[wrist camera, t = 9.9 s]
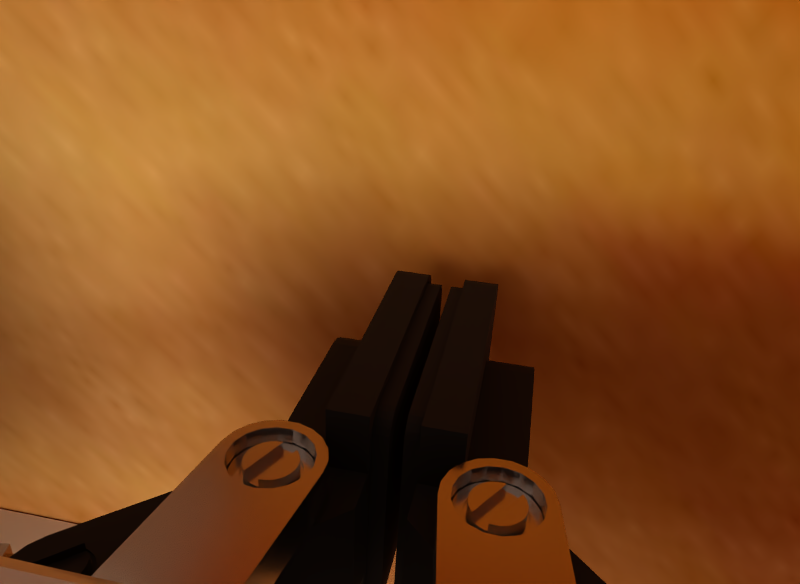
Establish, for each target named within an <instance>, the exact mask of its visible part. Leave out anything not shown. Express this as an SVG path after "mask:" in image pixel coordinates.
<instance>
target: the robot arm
mask: <svg viewBox="0 0 800 584" xmlns="http://www.w3.org/2000/svg"><path fill="white" fill-rule="evenodd" d="M497 291H498V284H491V283H484V282H477V281H470V280H465V282H464V286H463V288H457V287H451V289H450V292H449V295H448V298H447V301H446V304H445V307H444V310H443V313H442V316H441V319H440V308H441V297H442V285H436V284H431V276H430V275H426V274H418V273H411V272H404V271H397V273H396V275H395V276H394V278H393V280H392V282H391V284H390V286H389V288H388V290H387V292H386V294H385V296H384V298H383V300H382V301H381V303H380V305H379V307H378V309H377V311H376V313H375V315H374V317H373V319H372V321H371V323H370V325H369V326H368V328H367V330H366V332H365V334H364V336H363V338H362V340H361V341H360V340H354V339H347V338H341V337H340V338H337V339H336V340H335V342H334V343H333V345H332V346H331V348H330V350H329V351H328V353H327V355H326V357H325V358H324V360H323V362H322V363H321V365H320V367H319V368H318V370H317V372H316V374H315V375H314V377H313V379H312V380H311V382H310V384H309V385H308V387H307V389H306V391H305V392H304V394H303V396H302V397H301V399H300V401H299V402H298V404H297V406H296V408H295V409H294V411H293V413H292V414H291V416H290V418H289V420H288V421H284V420H274V421H262V422H258V423H253V424H249V425H246V426H244V427H242V428H240V429H238V430H235V431H233V432H232V433H231V434H229V435H228V436H227V437H226V438H224V439H223V440H222V441H221V442H220V443H219V444H218V445H217V446H216V447H215V448H214V449H213V450H212V451H211V452H210V453H209V454H208V455H207V456H206V457H205V458H204V459H203V460H202V461H201V462H200V464H199V465H198V466H197V467H196V468H195V469H194V470H193V471H192V472H191V473H190V474H189V475H188V476H187V477H186V478H185V479H184V480H183V481H182V482H181V483H180V484H179V485H178V486H177V487H176V488H175V489H174V491H171V492H168V493H166V494H163V495H160V496H157V497H154V498H151V499H149V500H146V501H143V502H140V503H137V504H135V505H132V506H129V507H126V508H123V509H120V510H118V511H115V512H112V513H109V514H106V515H104V516H101V517H98V518H95V519H92V520H89V521H87V522H84V523H81V524H78V525H75V526H73V527H70V528H67V529H64V530H61V531H58V532H56V533H53V534H50V535H47V536H45V537H43V538H41V539H39V540H36V541H34V542H32V543H30V544H28V545H26V546H25V547H23V548H22V549H20V550H19V551H18V552H16V553H12V549H11V546H10V544H7V543H0V584H386V583H387V580H388V576H389V573H390V569H391V566H392V562H393V559H394V555H395V551H396V548H397V551H396V567H395V582H394V584H606V583H605V582H604V581H603V580H602V579H601V578H600V577H599V576H598V575H596V574H595V573H594V572H593V571H592V570H591V569H590V568H589V567H588V566H587V565H586V564H585V563H584V562H583V561H582V560H581V559H579V558H578V557H577V556H576V555H575V554H574V553H573V552H572V551H571V550H570V549H569V546H568V541H567V536H566V531H565V526H564V521H563V516H562V511H561V506H560V503H559V500H558V498H557V495H556V493H555V491H554V489H553V488H552V487H551V486H550V485H549V484H548V482H547V481H546V480H545V479H544V478H543V477H541V476H540V475H539V474H537V473H536V472H534V471H533V470H531V469H530V468H528V454H529V440H530V426H531V412H532V397H533V383H534V367H527V366H521V365H514V364H508V363H502V362H495V361H489V353H490V346H491V338H492V330H493V322H494V315H495V307H496V299H497ZM439 320H440V322H439Z"/></svg>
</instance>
